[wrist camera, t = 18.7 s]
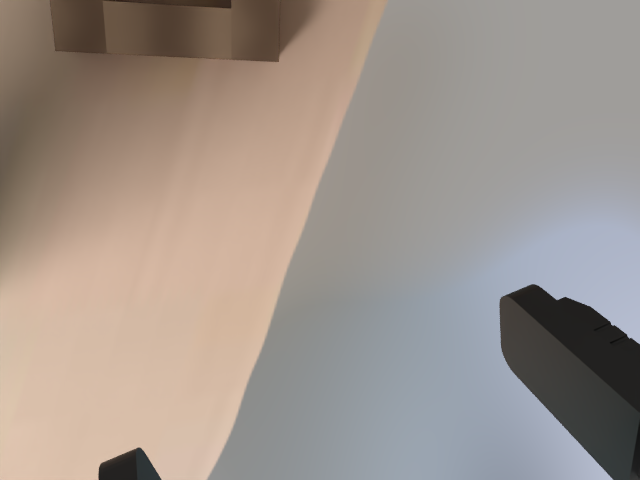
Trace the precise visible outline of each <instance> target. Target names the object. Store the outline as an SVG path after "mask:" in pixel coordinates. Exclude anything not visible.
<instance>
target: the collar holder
mask: <svg viewBox="0 0 640 480" xmlns="http://www.w3.org/2000/svg"><path fill="white" fill-rule="evenodd" d="M50 6H51V15H52V24H53V32H54V41H55V50H56V51H66V52H86V53H107V54H127V55H147V56H168V57H188V58H209V59H229V60H250V61H270V62H279V26H280V0H231V9H230V8H214V7H197V6H181V5H165V4H149V3H133V2H116V1H115V0H50Z"/></svg>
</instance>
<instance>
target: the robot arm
mask: <svg viewBox="0 0 640 480" xmlns="http://www.w3.org/2000/svg"><path fill="white" fill-rule="evenodd" d="M500 330H501V348H502V352H503V355H504V358H505V360H506V362H507V364H508V366H509V367H510V369H511V370H512V371H513V372H514V374H515V375H516V376H517V377H518V378H519V379H520V380H521V381H522V382H523V383H524V384H525V385H526V387H527V388H528V389H529V390H530V391H531V392H532V393H533V394H534V395H535V396H536V397H537V398H538V399H539V401H540V402H541V403H542V404H543V405H544V406H545V407H546V408H547V409H548V410H549V411H550V412H551V413H552V414H553V415H554V417H555V418H556V419H557V420H558V421H559V422H560V423H561V424H562V425H563V426H564V427H565V428H566V429H567V430H568V431H569V433H570V434H571V435H572V436H573V437H574V438H575V439H576V440H577V441H578V442H579V443H580V444H581V445H582V447H583V448H584V449H585V450H586V451H587V452H588V453H589V454H590V455H591V456H592V457H593V458H594V459H595V460H596V462H597V463H598V464H599V465H600V466H601V467H602V468H603V469H604V470H605V471H606V472H607V473H608V474H609V475H610V477H611V478H612V479H613V480H640V344H638V343H637V342H636V341H634V340H633V339H632V338H630V339H629V338H628V337H627V334H625V333H624V332H623V331H621V330H620V329H619V328H617V327H616V326H615V325H614V326H612V325H611V323H610V321H608V320H607V319H606V318H604V317H603V316H602V315H600V314H599V313H598V312H597V311H595V310H594V309H593V308H591V307H590V306H587V305H585V304H582V303H579V302H577V301H574V300H572V299H569V298H567V297H564V298H562V299H559V300H556V299H555V298H553V297H552V296H551V295H550V294H548V293H547V292H546V291H545V290H543V289H542V288H540V287H539V286H537V285H534V284H532V285H529V286H527V287H524V288H522V289H520V290H517V291H515V292H512V293H510V294H508V295H505V296H503V297H502V298H501V299H500ZM99 480H161V478H160V476H159V475H158V473H157V472H156V470H155V468H154V467H153V465H152V464H151V462H150V460H149V459H148V457H147V456H146V454H145V452H144V451H143V450H142V449H141V448H136V449H134V450H132V451H129V452H127V453H124V454H122V455H120V456H117V457H115V458H113V459H110V460H108V461H105V462H103V463H101V464H100V467H99Z"/></svg>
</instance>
